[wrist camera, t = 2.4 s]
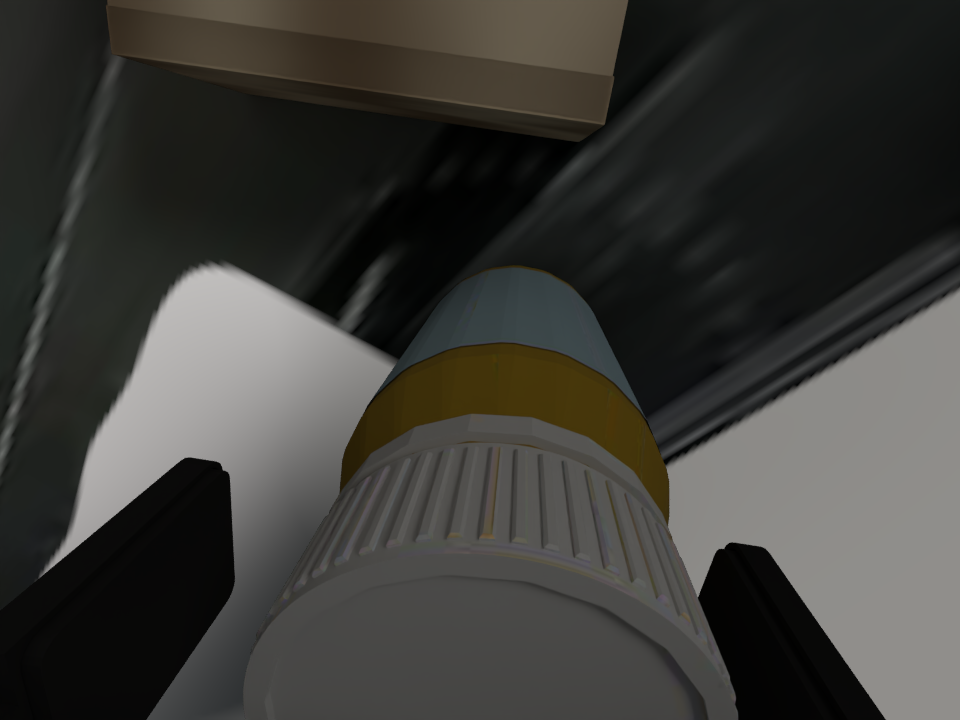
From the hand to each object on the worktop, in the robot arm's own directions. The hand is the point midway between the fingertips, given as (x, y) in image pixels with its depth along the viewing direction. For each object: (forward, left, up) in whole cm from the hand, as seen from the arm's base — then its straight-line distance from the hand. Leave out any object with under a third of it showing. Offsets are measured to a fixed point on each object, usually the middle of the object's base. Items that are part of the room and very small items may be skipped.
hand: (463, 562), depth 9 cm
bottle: (-1, 0, -12) cm, 12 cm away
